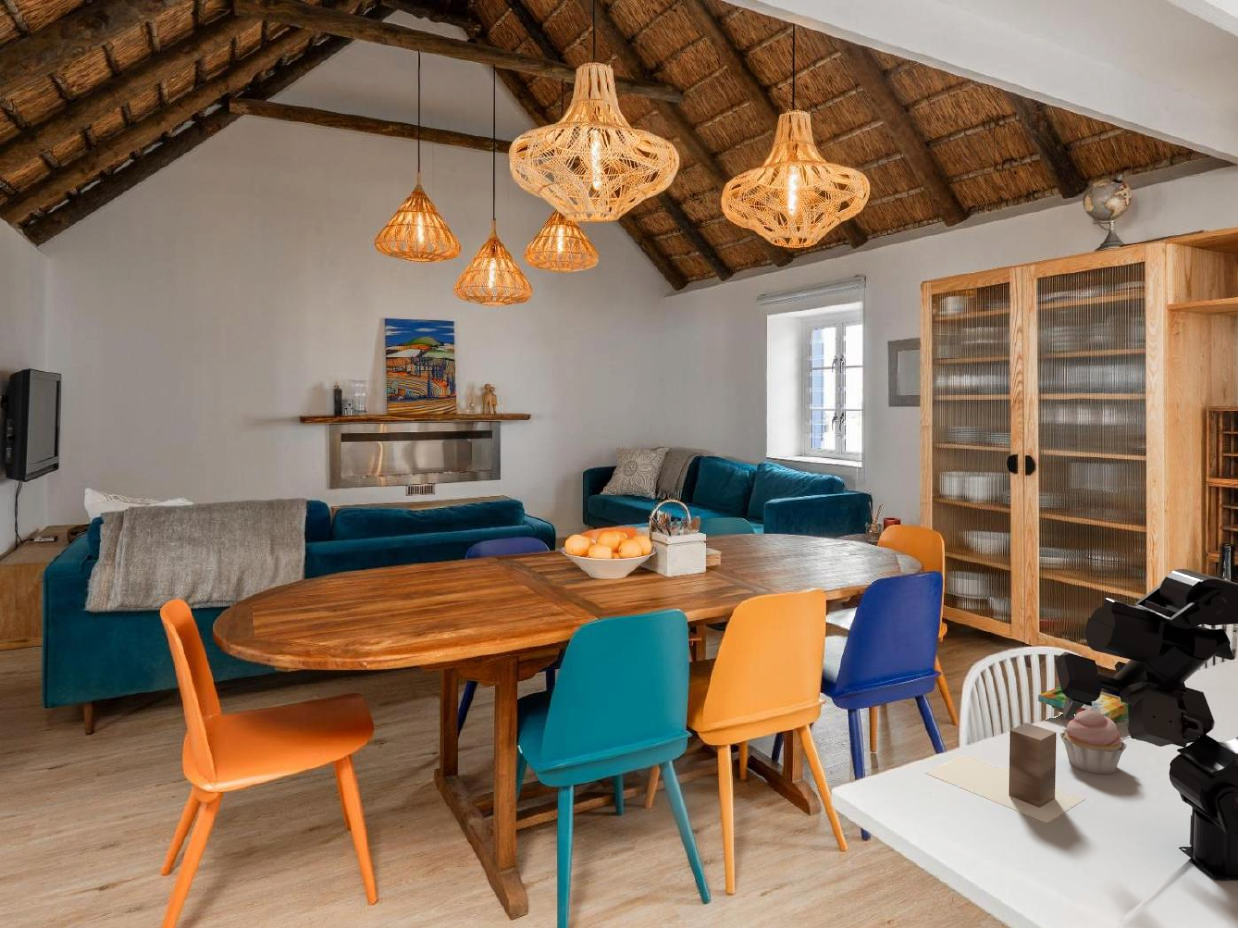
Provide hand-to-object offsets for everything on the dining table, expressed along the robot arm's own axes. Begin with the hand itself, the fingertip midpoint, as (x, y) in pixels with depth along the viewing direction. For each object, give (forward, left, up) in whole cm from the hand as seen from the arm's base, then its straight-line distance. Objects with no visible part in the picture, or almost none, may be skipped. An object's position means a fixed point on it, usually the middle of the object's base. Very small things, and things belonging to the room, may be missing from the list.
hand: (1097, 725), depth 110 cm
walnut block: (+5, +6, -13) cm, 15 cm away
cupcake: (+15, -9, -14) cm, 23 cm away
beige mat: (+9, +9, -14) cm, 19 cm away
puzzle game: (+38, -24, -14) cm, 47 cm away
